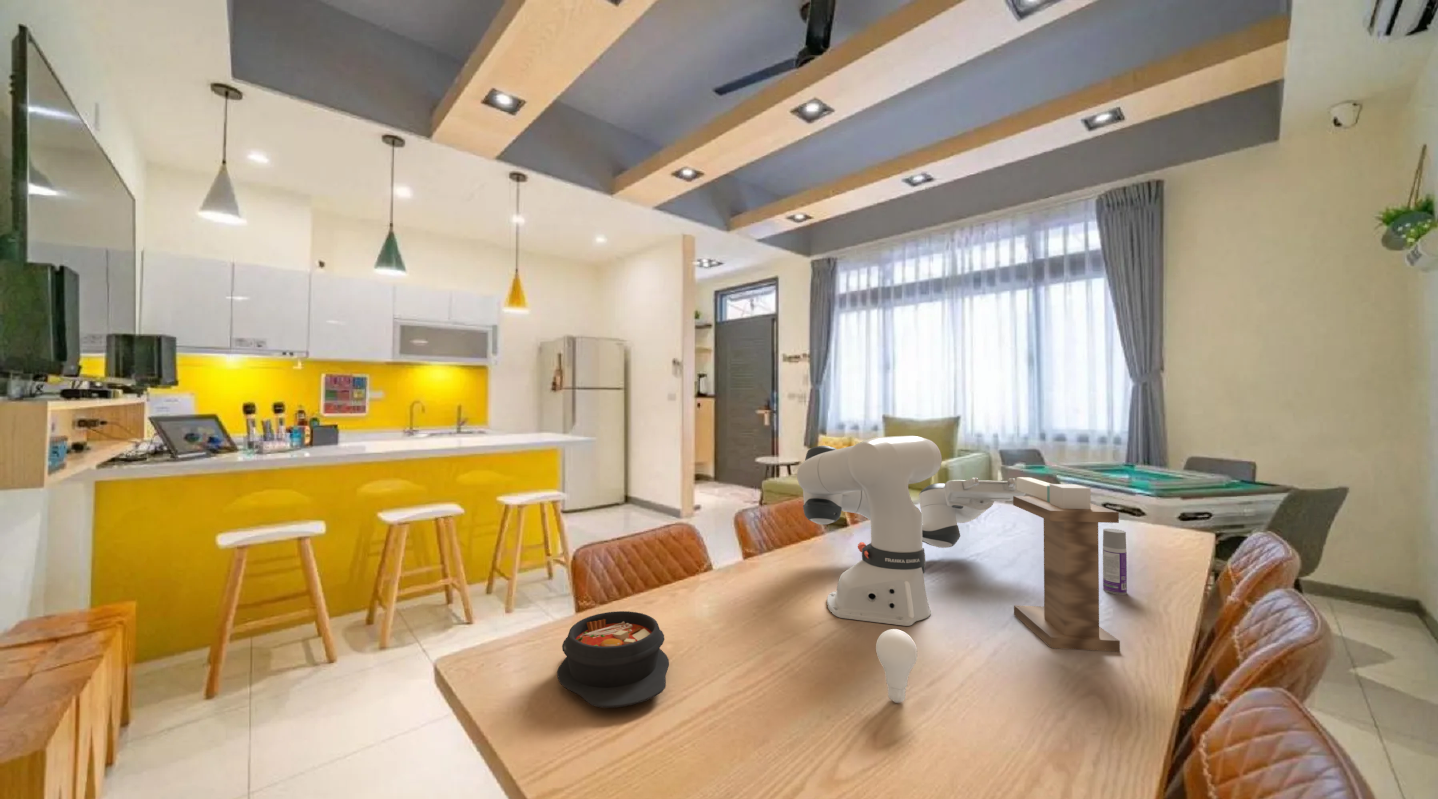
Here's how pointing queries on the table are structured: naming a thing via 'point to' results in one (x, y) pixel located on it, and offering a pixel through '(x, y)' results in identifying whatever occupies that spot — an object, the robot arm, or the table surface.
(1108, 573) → the container
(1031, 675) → the table surface
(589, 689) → the casserole
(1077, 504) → the bar
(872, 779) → the table surface
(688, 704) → the table surface
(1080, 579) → the wooden i-beam block
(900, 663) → the lightbulb
